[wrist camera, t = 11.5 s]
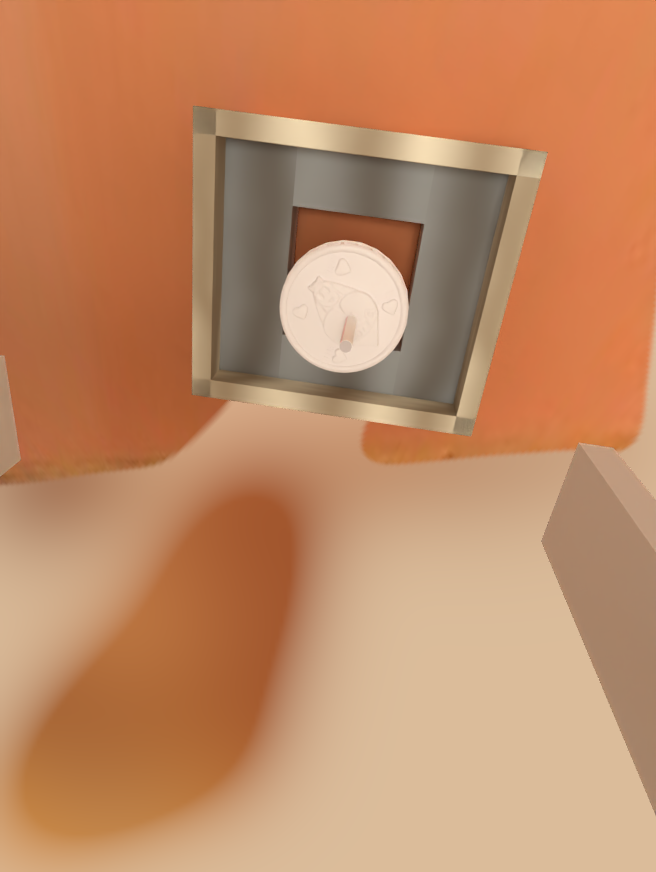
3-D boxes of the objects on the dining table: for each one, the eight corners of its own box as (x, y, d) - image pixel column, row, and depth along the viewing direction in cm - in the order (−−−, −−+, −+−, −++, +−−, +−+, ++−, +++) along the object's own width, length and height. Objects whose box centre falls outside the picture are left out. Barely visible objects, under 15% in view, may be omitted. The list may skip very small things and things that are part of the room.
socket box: (212, 371, 39) (191, 394, 35) (217, 113, 31) (192, 105, 27) (462, 408, 38) (471, 436, 34) (526, 154, 31) (547, 152, 27)
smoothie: (353, 344, 37) (337, 435, 24) (283, 276, 35) (228, 336, 23) (424, 275, 34) (447, 337, 22) (352, 199, 33) (334, 219, 20)
